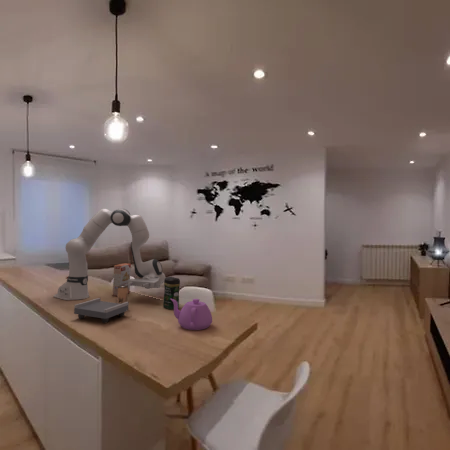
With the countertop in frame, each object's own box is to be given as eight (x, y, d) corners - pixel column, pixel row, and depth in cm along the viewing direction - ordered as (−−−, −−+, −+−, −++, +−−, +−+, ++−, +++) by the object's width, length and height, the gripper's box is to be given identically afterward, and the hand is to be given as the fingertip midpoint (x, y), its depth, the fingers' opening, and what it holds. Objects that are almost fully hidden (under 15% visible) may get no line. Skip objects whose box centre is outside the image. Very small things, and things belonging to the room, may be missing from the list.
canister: (114, 310, 191) (115, 286, 191) (121, 308, 196) (121, 284, 196) (123, 311, 189) (123, 287, 189) (129, 309, 194) (129, 285, 194)
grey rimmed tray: (73, 319, 171) (74, 304, 171) (98, 311, 188) (98, 297, 188) (105, 324, 165) (106, 309, 165) (128, 315, 182) (128, 302, 182)
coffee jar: (160, 307, 202) (161, 276, 202) (171, 305, 208) (172, 275, 208) (171, 310, 196) (172, 278, 196) (181, 308, 202) (182, 277, 202)
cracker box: (120, 296, 226) (121, 265, 226) (112, 295, 227) (113, 265, 227) (130, 292, 240) (131, 263, 239) (122, 291, 241) (123, 262, 241)
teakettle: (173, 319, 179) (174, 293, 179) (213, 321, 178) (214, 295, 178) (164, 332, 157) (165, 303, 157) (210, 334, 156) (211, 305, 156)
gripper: (135, 275, 221) (122, 278, 208) (162, 277, 214) (150, 281, 201) (135, 285, 221) (122, 288, 208) (162, 287, 214) (150, 291, 201)
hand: (136, 285), depth 205 cm, fingers open, 8 cm apart
